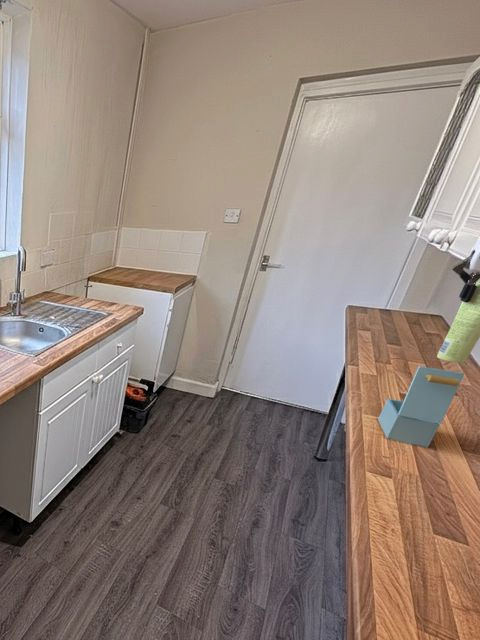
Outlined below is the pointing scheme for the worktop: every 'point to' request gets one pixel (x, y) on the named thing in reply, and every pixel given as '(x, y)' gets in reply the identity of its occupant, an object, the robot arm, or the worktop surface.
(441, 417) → the chest lid
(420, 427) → the chest
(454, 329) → the tube
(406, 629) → the worktop surface
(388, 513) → the worktop surface
